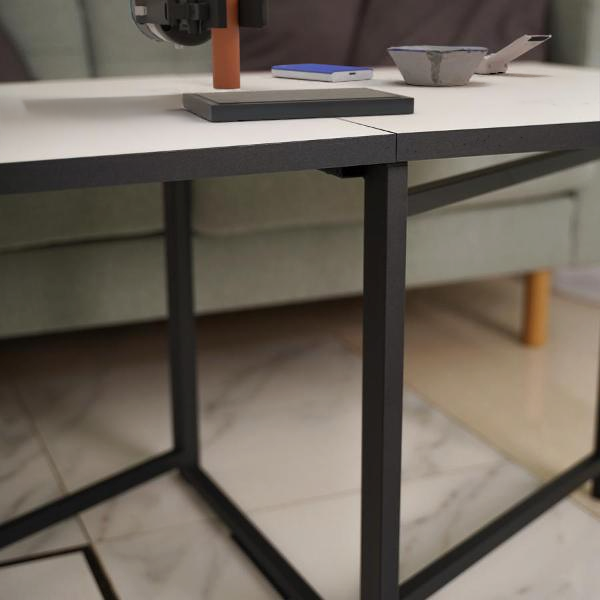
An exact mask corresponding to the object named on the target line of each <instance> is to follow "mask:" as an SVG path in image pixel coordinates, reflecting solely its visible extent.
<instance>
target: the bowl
mask: <svg viewBox="0 0 600 600" xmlns="http://www.w3.org/2000/svg"><path fill="white" fill-rule="evenodd" d="M489 50H490V48H488V47H486V46H478V45H475V46H473V45H472V46H466V45H465V46H464V45H455V46H453V45H452V46H451V45H450V46H449V45H426V44H425V45H424V44H423V45H404V46H390V47H388V48H386V51H387V52H388V54H389V56H390V57H391V59H392V60H393V62H394V64H395V65H396V67H397V69H398V72H399V73H400V75H401V76H402V78H403V80H404V82H405V83H406V84H407V85H413V86H423V87H425V86H427V87H452V86H453V87H454V86H455V87H456V86H465V85H467V84H468V83H469V81H471V78H472V77H473V76H474V74H475V73H474V72H475V71H476V69H477V68H478V66H479V65H480V63H481V61H482V60H483V58H484V56H485V55H486V54H487V53H488V52H489Z"/></svg>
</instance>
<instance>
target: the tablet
mask: <svg viewBox="0 0 600 600" xmlns="http://www.w3.org/2000/svg"><path fill="white" fill-rule="evenodd" d="M183 107H184V108H186V109H188V110H190V111H192V112H194V113H196V114H198V115H197V116H199V115H200V116H199V117H201V116H202V117H201V118H203V117H204V118H203V119H205V118H206V119H205V120H207V121H209V122H211V123H219V122H218V121H229V122H239V121H238V120H252V121H263V120H262V119H276V120H290V119H289V118H299V119H306V118H305V117H322V118H341V117H345V118H346V117H365V116H387V115H388V116H390V115H412V114H414V113H415V97H411V96H407V95H402V94H397V93H394V92H393V93H392V92H388V91H384V90H383V91H382V90H379V89H373V88H369V87H337V88H307V89H306V88H305V89H277V90H276V89H275V90H247V91H246V90H245V91H244V90H243V91H213V92H212V91H211V92H184V93H182V108H183ZM184 108H183V109H184ZM186 109H185V110H186ZM188 110H187V111H188ZM190 111H189V112H190ZM192 112H191V113H192ZM194 113H193V114H194ZM196 114H195V115H196Z"/></svg>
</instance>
